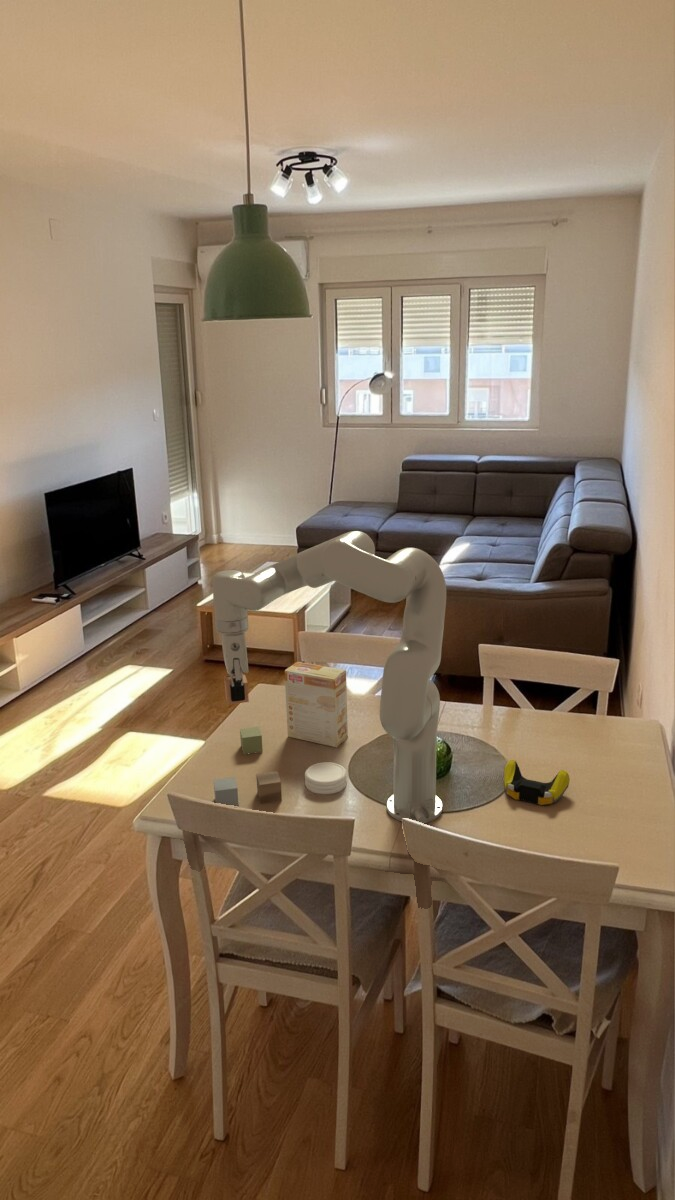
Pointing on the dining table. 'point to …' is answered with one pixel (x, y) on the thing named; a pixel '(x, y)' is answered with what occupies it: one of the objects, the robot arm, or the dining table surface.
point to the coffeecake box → (316, 703)
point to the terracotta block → (228, 692)
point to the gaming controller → (533, 786)
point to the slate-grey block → (226, 791)
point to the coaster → (325, 778)
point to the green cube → (251, 740)
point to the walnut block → (269, 787)
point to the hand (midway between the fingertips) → (236, 694)
